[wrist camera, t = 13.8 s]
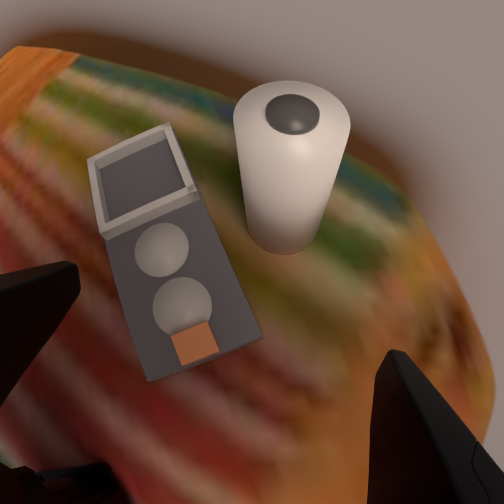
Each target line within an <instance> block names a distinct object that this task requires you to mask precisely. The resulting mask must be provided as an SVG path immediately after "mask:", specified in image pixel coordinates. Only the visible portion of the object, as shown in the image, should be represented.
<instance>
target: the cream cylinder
mask: <svg viewBox="0 0 504 504" xmlns="http://www.w3.org/2000/svg"><path fill="white" fill-rule="evenodd" d="M233 121H234V130H235V137H236V145H237V152H238V160H239V168H240V175H241V183H242V190H243V198H244V205H245V213H246V220H247V227H248V231H249V234H250V236H251V237H252V239H253V240H254V242H255V243H256V244H257V245H258V246H260V247H261V248H262V249H264V250H266V251H268V252H270V253H274V254H279V255H288V254H293V253H297V252H299V251H301V250H303V249H305V248H306V247H307V246H309V245H310V244H311V242H312V241H313V240H314V238H315V237H316V234H317V232H318V229H319V226H320V223H321V220H322V217H323V214H324V211H325V208H326V205H327V202H328V199H329V196H330V193H331V190H332V187H333V184H334V181H335V178H336V175H337V172H338V168H339V165H340V162H341V159H342V156H343V152H344V149H345V145H346V143H347V139H348V136H349V133H350V118H349V115H348V113H347V111H346V109H345V107H344V106H343V104H342V103H341V102H340V101H339V100H338V99H337V98H336V97H335V96H334V95H332V94H331V93H329V92H328V91H326V90H324V89H322V88H320V87H318V86H315V85H312V84H309V83H305V82H299V81H275V82H270V83H266V84H263V85H260V86H258V87H256V88H254V89H252V90H250V91H249V92H248V93H246V94H245V95H244V96H243V97H242V98H241V99H240V101H239V102H238V103H237V105H236V107H235V110H234V115H233Z"/></svg>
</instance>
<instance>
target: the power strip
mask: <svg viewBox="0 0 504 504" xmlns="http://www.w3.org/2000/svg"><path fill="white" fill-rule="evenodd" d="M87 164H88V171H89V178H90V184H91V191H92V196H93V202H94V208H95V213H96V218H97V223H98V228H99V233H100V235H101V236H102V237H103V238H104V240H105V244H106V249H107V253H108V257H109V261H110V265H111V269H112V273H113V277H114V280H115V284H116V288H117V291H118V295H119V298H120V302H121V305H122V308H123V312H124V315H125V318H126V321H127V325H128V328H129V331H130V334H131V337H132V340H133V343H134V346H135V349H136V352H137V354H138V357H139V360H140V363H141V365H142V368H143V371H144V374H145V376H146V379H147V381H148V382H149V381H158V380H161V379H163V378H166V377H169V376H172V375H174V374H177V373H180V372H182V371H185V370H188V369H190V368H193V367H195V366H198V365H200V364H203V363H206V362H208V361H211V360H213V359H216V358H218V357H220V356H223V355H225V354H228V353H230V352H233V351H235V350H237V349H240V348H242V347H244V346H247V345H249V344H251V343H254V342H256V341H258V340H261V339H263V335H262V333H261V331H260V328H259V326H258V324H257V322H256V319H255V317H254V315H253V313H252V311H251V308H250V306H249V304H248V302H247V299H246V297H245V295H244V293H243V290H242V288H241V286H240V284H239V281H238V279H237V277H236V275H235V272H234V270H233V268H232V266H231V263H230V261H229V259H228V257H227V254H226V252H225V250H224V247H223V245H222V243H221V240H220V238H219V236H218V234H217V231H216V229H215V227H214V224H213V222H212V220H211V217H210V215H209V213H208V210H207V208H206V206H205V203H204V201H203V198H202V196H201V194H200V191H199V189H198V187H197V184H196V182H195V180H194V177H193V175H192V172H191V170H190V168H189V165H188V163H187V160H186V158H185V156H184V153H183V151H182V148H181V146H180V143H179V141H178V139H177V136H176V134H175V131H174V129H171V126H170V124H169V122H167V123H164V124H162V125H159V126H157V127H154V128H152V129H150V130H147V131H145V132H143V133H141V134H138V135H136V136H134V137H132V138H129V139H127V140H125V141H123V142H121V143H119V144H117V145H115V146H112V147H110V148H108V149H106V150H104V151H102V152H100V153H98V154H96V155H94V156H92V157H90V158H88V159H87Z"/></svg>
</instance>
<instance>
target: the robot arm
mask: <svg viewBox="0 0 504 504" xmlns="http://www.w3.org/2000/svg"><path fill="white" fill-rule="evenodd" d="M80 290H81V285H80V278H79V270H78V266H77V265H76V264H75V263H72V262H70V261H60V262H56V263H51V264H46V265H42V266H37V267H33V268H28V269H24V270H19V271H15V272H10V273H6V274H1V275H0V407H1V405H2V404H3V402H4V401H5V399H6V398H7V396H8V395H9V393H10V392H11V390H12V389H13V387H14V386H15V385H16V383H17V382H18V380H19V379H20V377H21V376H22V375H23V373H24V372H25V370H26V369H27V368H28V366H29V365H30V364H31V362H32V361H33V359H34V358H35V357H36V355H37V354H38V353H39V351H40V350H41V349H42V347H43V346H44V345H45V344H46V342H47V341H48V340H49V338H50V337H51V336H52V334H53V333H54V332H55V330H56V329H57V327H58V326H59V324H60V323H61V321H62V320H63V318H64V317H65V315H66V314H67V312H68V311H69V309H70V308H71V306H72V305H73V303H74V302H75V300H76V299H77V297H78V296H79V294H80ZM476 440H477V439H476V438H475V436H474V435H473V434H472V433H471V431H470V430H469V429H468V427H467V426H466V425H465V424H464V422H463V421H462V420H461V419H460V417H459V416H458V415H457V414H456V412H455V411H454V410H453V409H452V408H451V406H450V405H449V404H448V403H447V401H446V400H445V399H444V398H443V397H442V395H441V394H440V393H439V392H438V391H437V389H436V388H435V387H434V386H433V385H432V383H431V382H430V381H429V380H428V379H427V377H426V376H425V375H424V374H423V373H422V371H421V370H420V369H419V368H418V367H417V366H416V364H415V363H414V362H413V361H412V360H411V359H410V357H409V356H408V355H407V354H406V353H405V352H403V351H399V350H393V349H391V350H389V351H388V352H387V354H386V356H385V358H384V360H383V362H382V363H381V365H380V367H379V369H378V371H377V373H376V376H375V384H374V395H373V405H372V414H371V423H370V451H369V479H368V496H367V504H504V472H503V471H502V470H501V469H500V468H499V467H498V465H497V464H496V463H495V462H494V460H493V459H492V458H491V457H490V456H489V454H488V453H487V452H486V450H485V449H484V448H483V447H482V445H481V444H480V443H479V441H476ZM100 467H102V468H103V469H104V472H102V471H101V470H100ZM42 476H43V477H44V479H45V480H44V479H43V477H42ZM0 504H130V503H129V502H128V500H127V498H126V496H125V494H124V492H123V491H121V489H120V487H119V485H118V483H117V481H116V479H115V477H114V475H113V473H112V471H111V469H110V467H109V466H108V465H107V464H106V463H104V462H97V463H91V464H86V465H80V466H74V467H67V468H60V469H53V470H44V471H40V472H37V475H36V473H35V472H34V470H32V469H30V468H28V467H26V466H22V467H18V468H14V469H10V468H9V467H7V466H6V465H4V464H2V463H1V462H0Z"/></svg>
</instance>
